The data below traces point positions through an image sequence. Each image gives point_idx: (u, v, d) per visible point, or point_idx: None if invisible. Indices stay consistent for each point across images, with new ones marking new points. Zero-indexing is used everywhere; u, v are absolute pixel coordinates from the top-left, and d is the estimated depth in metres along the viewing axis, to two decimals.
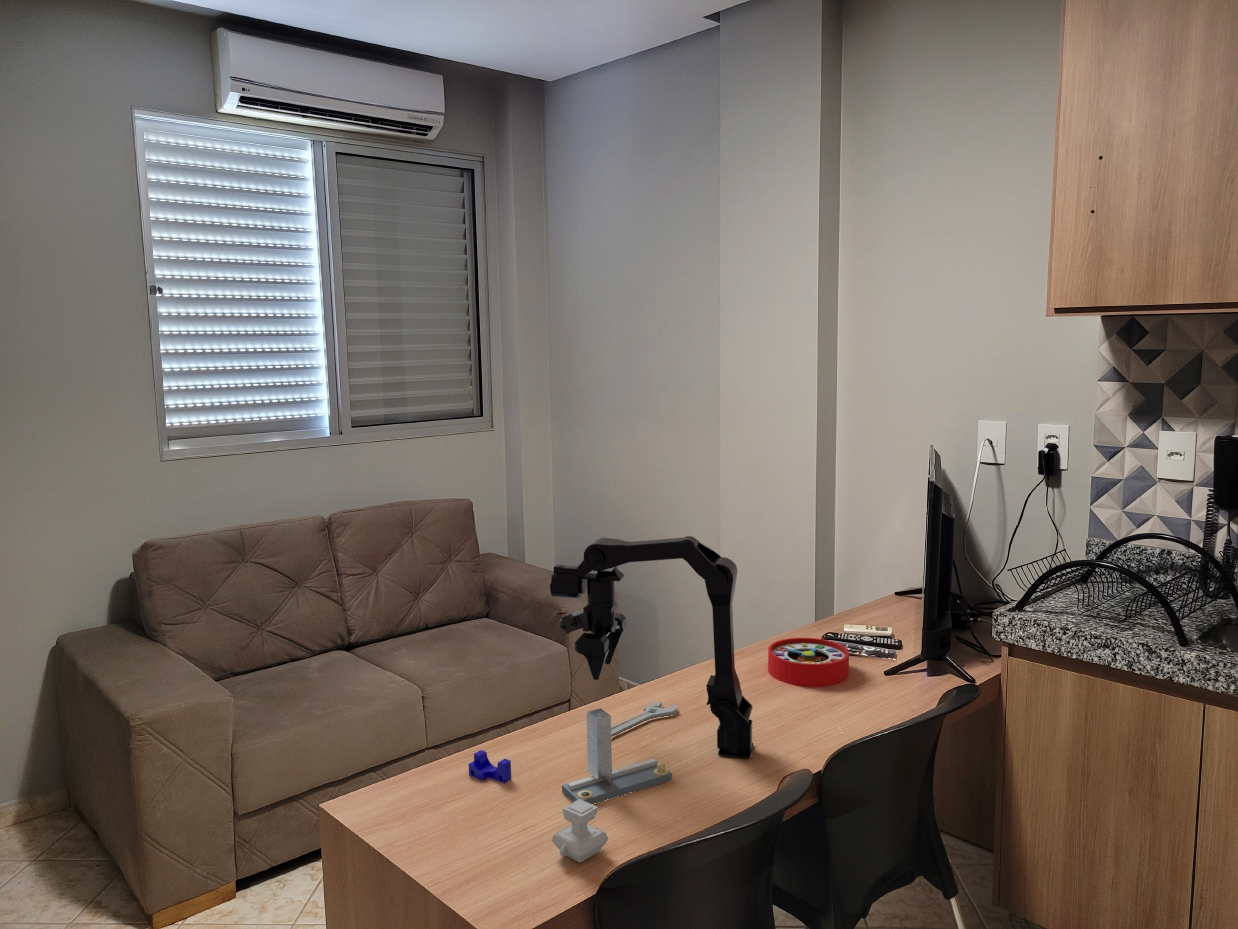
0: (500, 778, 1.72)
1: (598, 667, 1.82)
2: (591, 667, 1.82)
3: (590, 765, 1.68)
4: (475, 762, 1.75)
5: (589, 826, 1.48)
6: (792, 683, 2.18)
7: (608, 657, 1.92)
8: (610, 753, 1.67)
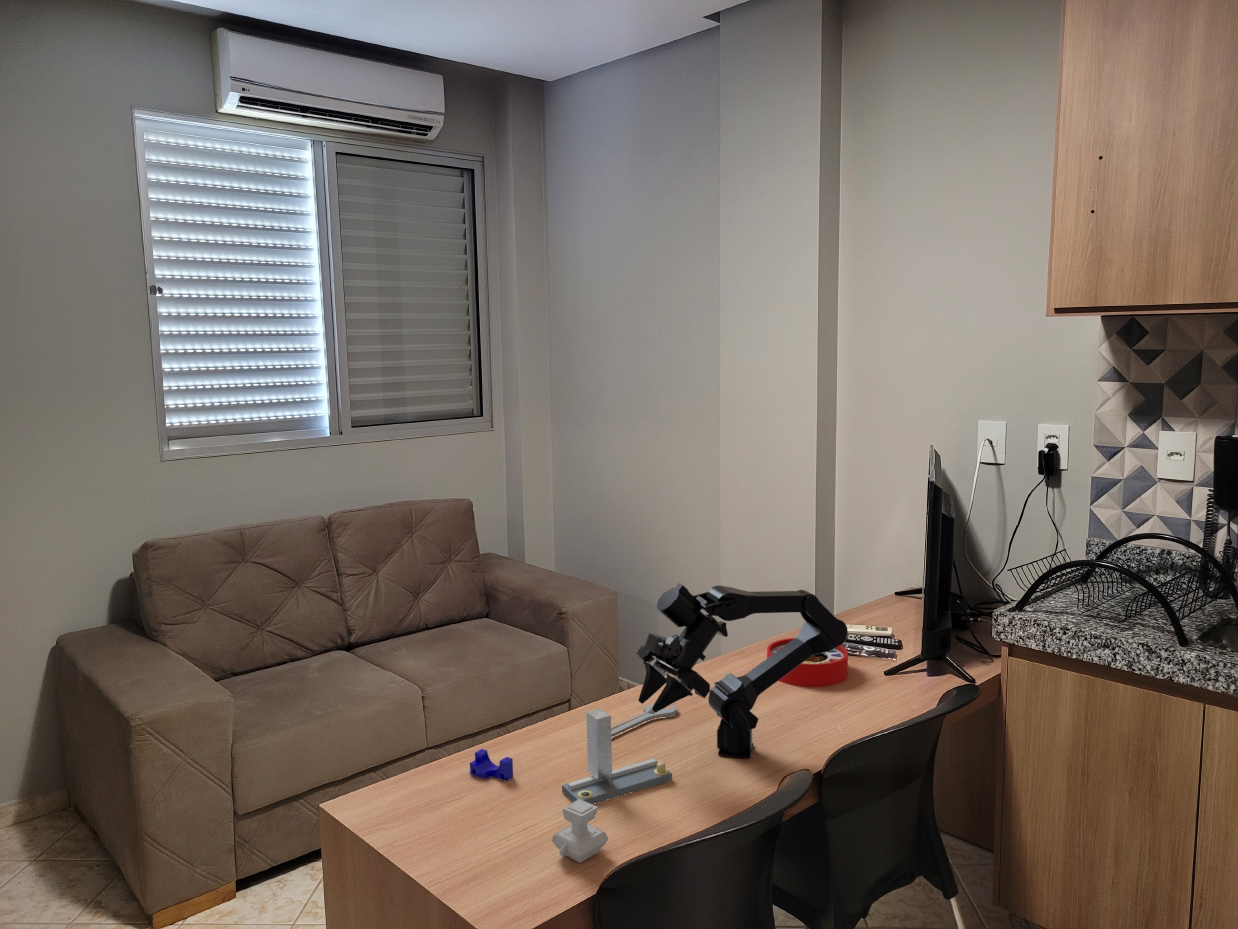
0: (502, 776, 1.73)
1: (668, 702, 1.71)
2: (663, 698, 1.70)
3: (590, 765, 1.68)
4: (476, 761, 1.75)
5: (589, 826, 1.48)
6: (791, 683, 2.18)
7: (645, 696, 1.75)
8: (610, 753, 1.67)
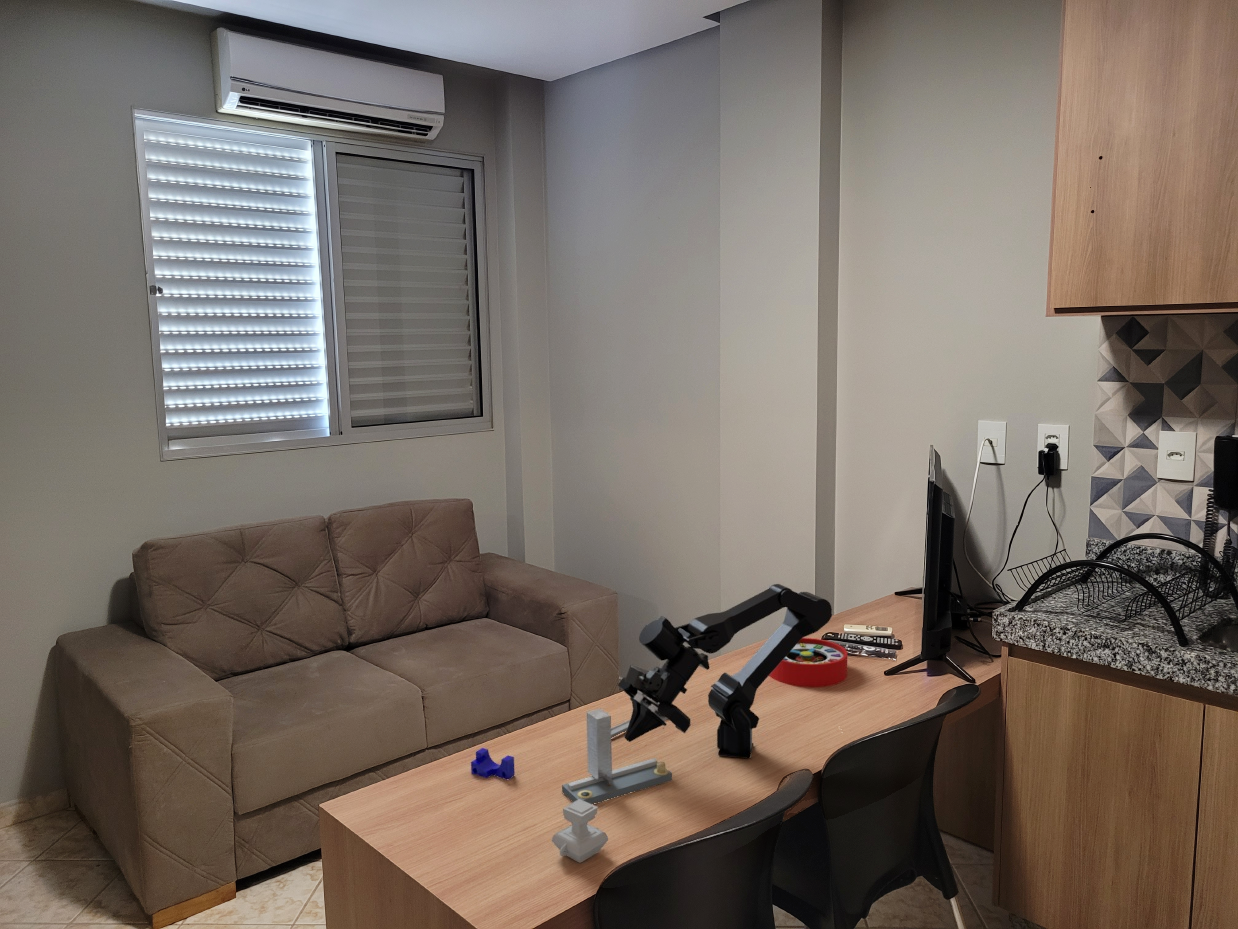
0: (503, 775, 1.73)
1: (642, 731, 1.71)
2: (637, 728, 1.70)
3: (590, 765, 1.68)
4: (477, 760, 1.76)
5: (589, 826, 1.48)
6: (790, 683, 2.17)
7: None
8: (610, 753, 1.67)
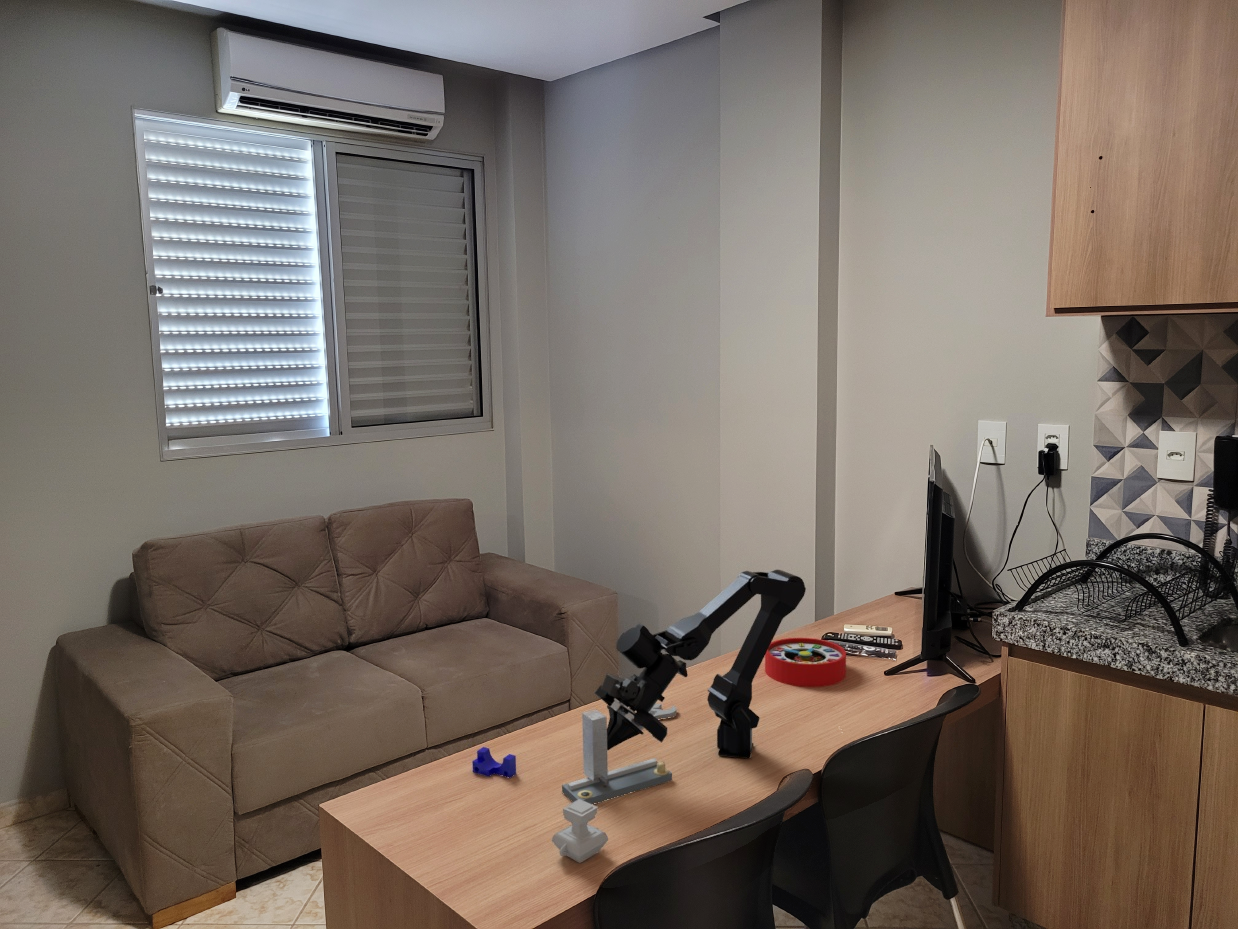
0: (505, 773, 1.74)
1: (619, 740, 1.68)
2: (614, 737, 1.68)
3: (586, 766, 1.68)
4: (479, 759, 1.76)
5: (589, 826, 1.48)
6: (789, 683, 2.18)
7: None
8: (606, 754, 1.66)
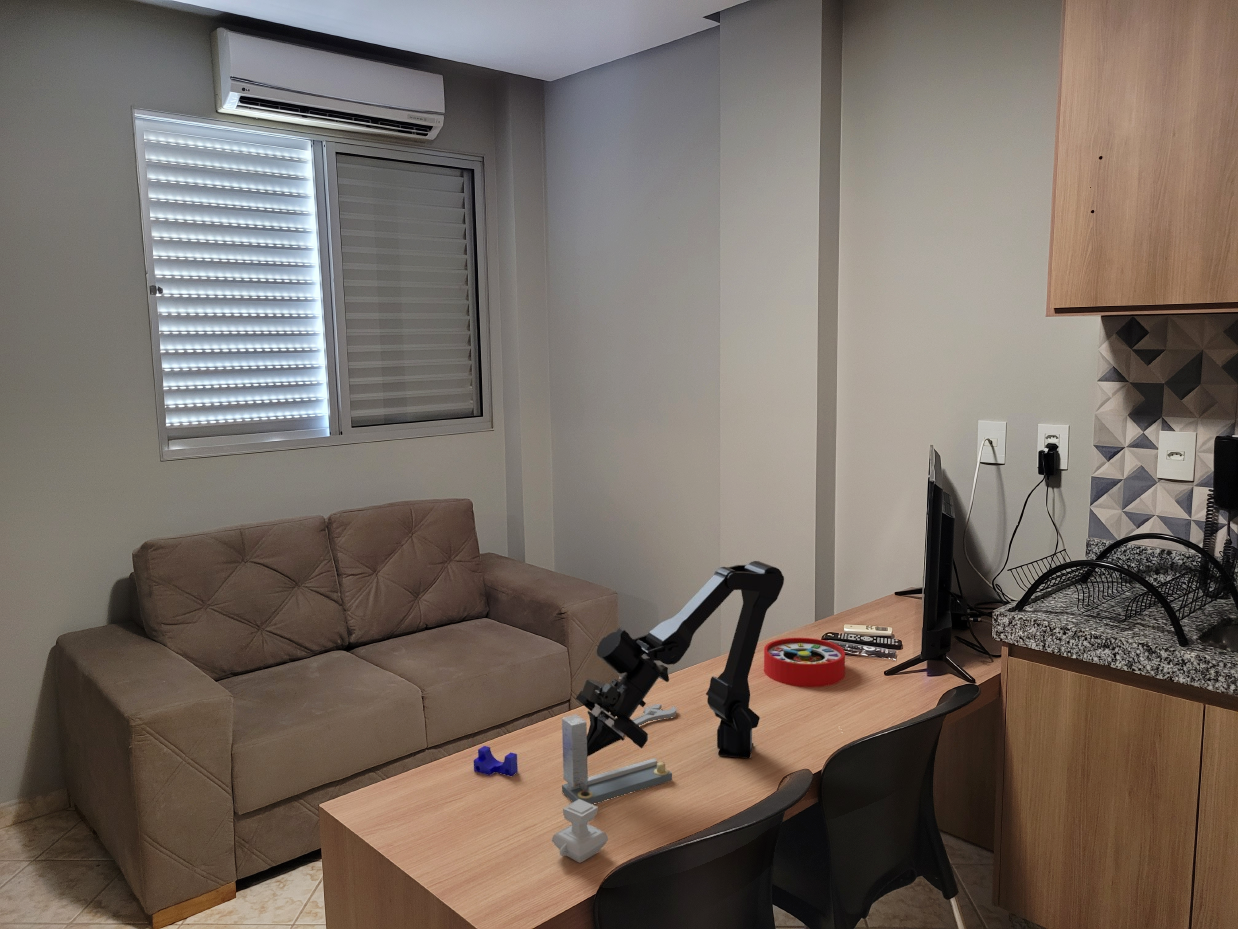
0: (507, 772, 1.75)
1: (599, 746, 1.66)
2: (594, 743, 1.66)
3: (566, 772, 1.66)
4: (480, 758, 1.77)
5: (589, 826, 1.48)
6: (788, 683, 2.18)
7: None
8: (586, 760, 1.64)
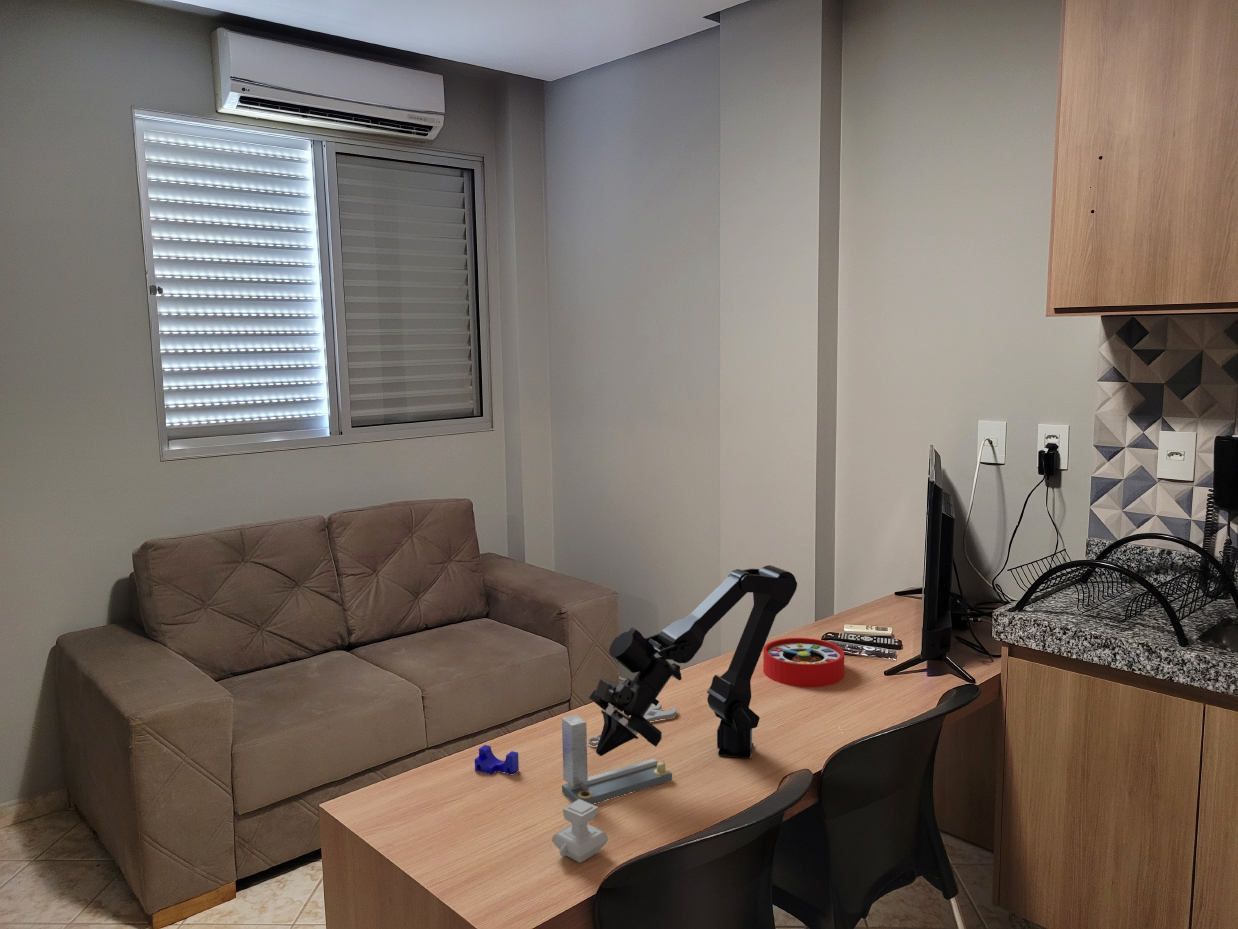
0: (508, 770, 1.75)
1: (614, 745, 1.68)
2: (608, 742, 1.67)
3: (565, 772, 1.66)
4: (481, 757, 1.77)
5: (589, 826, 1.48)
6: (787, 683, 2.18)
7: None
8: (586, 760, 1.64)
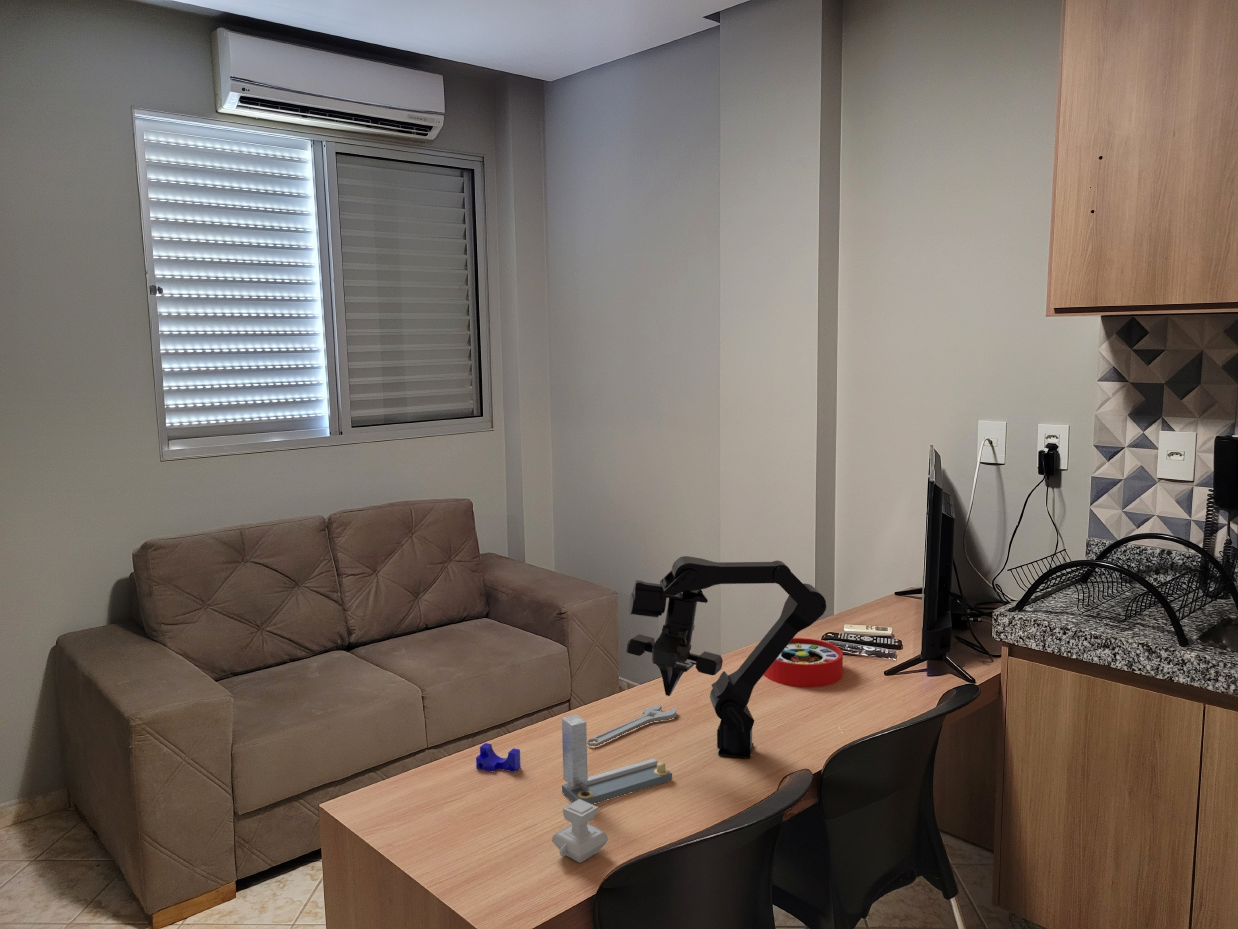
0: (510, 767, 1.76)
1: (677, 681, 1.80)
2: (675, 683, 1.79)
3: (565, 772, 1.66)
4: (482, 755, 1.78)
5: (589, 826, 1.48)
6: (786, 683, 2.17)
7: None
8: (586, 760, 1.64)
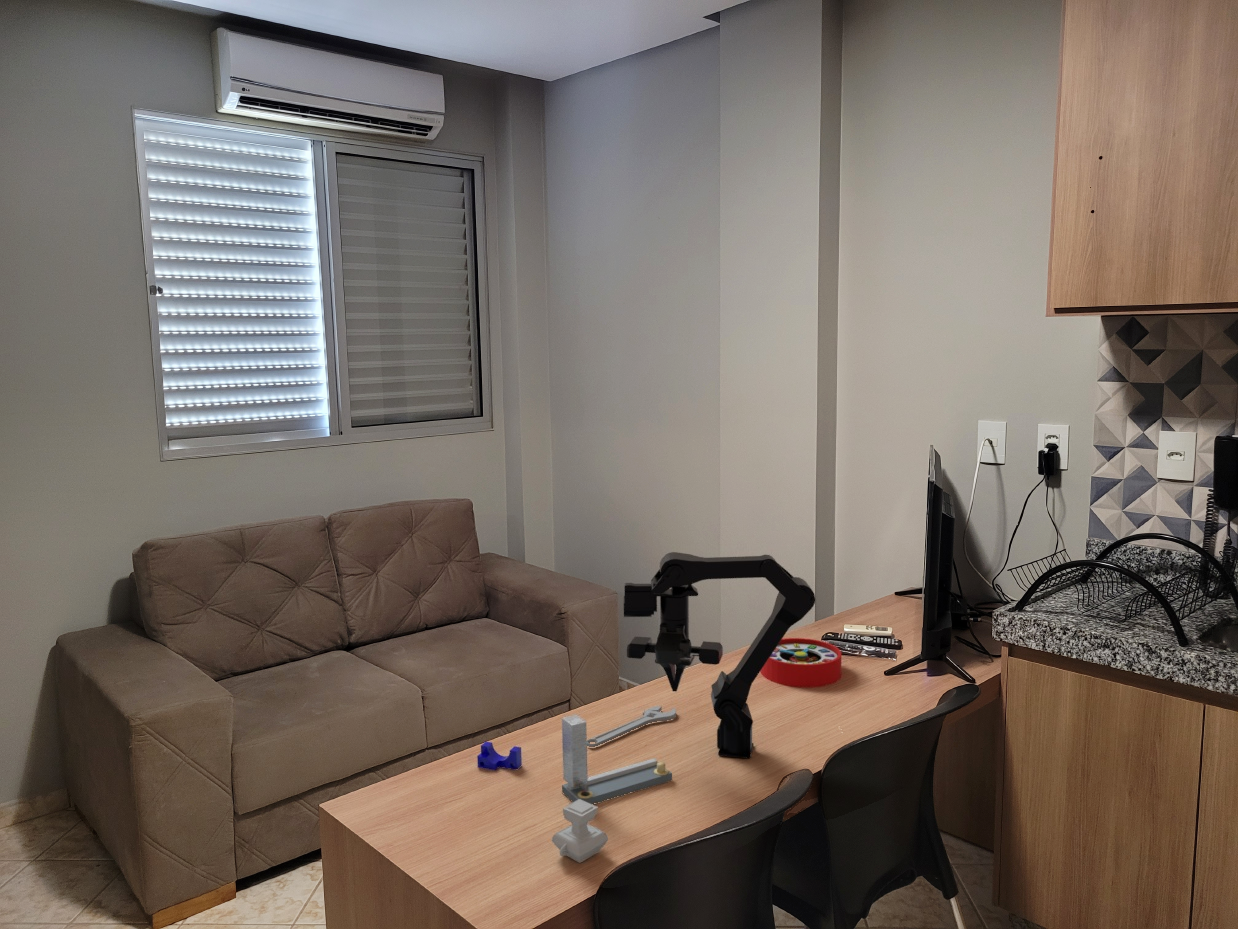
0: (512, 765, 1.77)
1: None
2: (680, 678, 1.80)
3: (565, 772, 1.66)
4: (483, 753, 1.78)
5: (589, 826, 1.48)
6: (785, 684, 2.17)
7: (675, 682, 1.81)
8: (586, 760, 1.64)
